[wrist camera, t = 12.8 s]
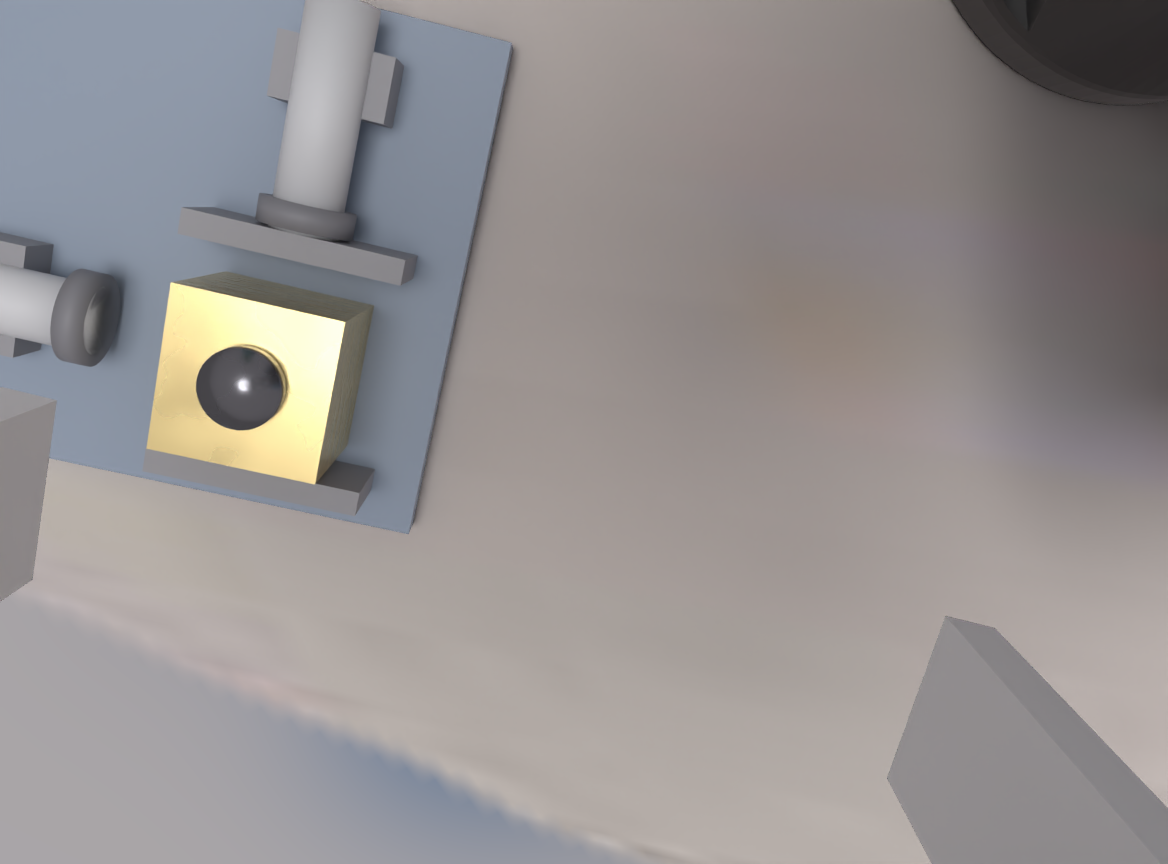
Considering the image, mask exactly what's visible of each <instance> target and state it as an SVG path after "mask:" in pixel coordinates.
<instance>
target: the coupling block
mask: <svg viewBox="0 0 1168 864" xmlns="http://www.w3.org/2000/svg"><path fill="white" fill-rule="evenodd" d="M373 309H374V305H371V304H366V303H362V302H357V301H353V300H349V299H344V298H340V297H336V296H331V295H327V294H323V293H318V292H314V291H310V290H305V289H301V288H297V287H292V286H288V285H284V284H279V283H275V282H271V281H266V280H262V279H258V278H253V277H249V276H244V275H240V274H236V273H231V272H227V271H225V272H220V273H215V274H210V275H205V276H200V277H195V278H190V279H185V280H180V281H175V282H171V285H170V292H169V298H168V305H167V312H166V319H165V326H164V332H163V339H162V346H161V353H160V360H159V366H158V373H157V380H156V387H155V394H154V400H153V407H152V414H151V421H150V428H149V435H148V441H147V448H146V449H151V450H155V451H160V452H165V453H170V454H174V455H179V456H184V457H188V458H193V459H198V460H202V461H207V462H212V463H216V464H221V465H226V466H231V467H235V468H240V469H245V470H249V471H254V472H259V473H263V474H268V475H273V476H277V477H282V478H287V479H292V480H296V481H301V482H306V483H310V484H316V483H317V481H318V480H319V479H320V478H321V477H322V475H323V474H324V473H325V472H326V471H327V469H328V468H329V467H330V466H331V465H332V463H333V462H334V461H335V460H336V459H337V457H338V456H339V455H340V454H341V453H342V451H343V450H344V449H345V448H346V447H347V445H348V440H349V435H350V430H351V424H352V419H353V414H354V409H355V403H356V398H357V393H358V388H359V383H360V377H361V372H362V367H363V362H364V356H365V351H366V346H367V341H368V335H369V330H370V325H371V320H372V315H373Z"/></svg>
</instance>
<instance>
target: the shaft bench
mask: <svg viewBox="0 0 1168 864" xmlns="http://www.w3.org/2000/svg"><path fill="white" fill-rule="evenodd" d="M512 50H513V47H512V43H511V42H507V41H503V40H499V39H495V38H491V37H487V36H483V35H480V34H476V33H472V32H468V31H464V30H460V29H456V28H452V27H448V26H445V25H441V24H437V23H433V22H429V21H425V20H421V19H417V18H414V17H410V16H406V15H402V14H398V13H394V12H390V11H386V10H382V9H379V8H376V7H374V6H372V5H370V4H367V3H365V2H362V1H359V0H0V388H1V387H4V388H8V389H12V390H16V391H21V392H25V393H29V394H33V395H37V396H41V397H45V398H49V399H54V400H57V403H56V411H55V418H54V425H53V433H52V440H51V447H50V455H49V458H51V459H56V460H61V461H65V462H70V463H75V464H79V465H84V466H89V467H94V468H98V469H103V470H108V471H113V472H117V473H122V474H127V475H131V476H136V477H141V478H146V479H150V480H155V481H160V482H165V483H169V484H174V485H179V486H183V487H188V488H193V489H198V490H202V491H207V492H212V493H217V494H221V495H226V496H231V497H235V498H240V499H245V500H250V501H254V502H259V503H264V504H269V505H273V506H278V507H283V508H287V509H292V510H297V511H302V512H306V513H311V514H316V515H320V516H325V517H330V518H335V519H339V520H344V521H349V522H354V523H358V524H363V525H368V526H372V527H377V528H382V529H387V530H391V531H396V532H401V533H406V534H409V532H410V529H411V527H412V525H413V521H414V516H415V511H416V506H417V502H418V497H419V492H420V487H421V483H422V478H423V473H424V468H425V464H426V459H427V454H428V449H429V445H430V440H431V435H432V430H433V426H434V421H435V416H436V411H437V407H438V402H439V397H440V392H441V388H442V383H443V378H444V373H445V369H446V364H447V359H448V354H449V349H450V345H451V340H452V335H453V330H454V326H455V321H456V316H457V311H458V307H459V302H460V297H461V292H462V288H463V283H464V278H465V273H466V269H467V264H468V259H469V254H470V250H471V245H472V240H473V235H474V231H475V226H476V221H477V216H478V212H479V207H480V202H481V197H482V193H483V188H484V183H485V178H486V174H487V169H488V164H489V159H490V155H491V150H492V145H493V140H494V135H495V131H496V126H497V121H498V116H499V112H500V107H501V102H502V97H503V93H504V88H505V83H506V78H507V74H508V69H509V64H510V59H511V55H512ZM225 271H227V272H231V273H236V274H240V275H244V276H249V277H253V278H258V279H262V280H266V281H271V282H275V283H279V284H284V285H288V286H292V287H297V288H301V289H305V290H310V291H314V292H318V293H323V294H327V295H331V296H336V297H340V298H344V299H349V300H353V301H357V302H362V303H366V304H371V305H374V309H373V315H372V320H371V325H370V330H369V335H368V341H367V346H366V351H365V356H364V362H363V367H362V372H361V377H360V383H359V388H358V393H357V398H356V403H355V409H354V414H353V419H352V424H351V430H350V435H349V440H348V445H347V447H346V448H345V449H344V450H343V451H342V453H341V454H340V455H339V456H338V457H337V459H336V460H335V461H334V462H333V463H332V465H331V466H330V467H329V468H328V469H327V471H326V472H325V473H324V474H323V475H322V477H321V478H320V479H319V480H318V481H317V483H316V484H310V483H306V482H301V481H296V480H292V479H287V478H282V477H277V476H273V475H268V474H263V473H259V472H254V471H249V470H245V469H240V468H235V467H231V466H226V465H221V464H216V463H212V462H207V461H202V460H198V459H193V458H188V457H184V456H179V455H174V454H170V453H165V452H160V451H155V450H151V449H146V448H147V441H148V435H149V428H150V421H151V414H152V407H153V400H154V394H155V387H156V380H157V373H158V366H159V360H160V353H161V346H162V339H163V332H164V326H165V319H166V312H167V305H168V298H169V292H170V285H171V282H175V281H180V280H185V279H190V278H195V277H200V276H205V275H210V274H215V273H220V272H225Z"/></svg>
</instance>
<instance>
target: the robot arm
mask: <svg viewBox="0 0 1168 864" xmlns="http://www.w3.org/2000/svg"><path fill="white" fill-rule="evenodd" d="M953 1H954V3H955V4H956V6H957V8H958V10H959V11H960V13H961V15H962V16H963V17H964V19H965V20H966V22H967V23H968V25H969V26H970V27H971V29H972V30H973V31H974V32H975V33H976V35H977V36H978V37H979V38H980V40H981V41H982V42H983V43H984V44H985V45H986V46H987V47H988V48H989V49H990V50H991V51H992V52H993V53H994V54H995V55H996V56H998V57H999V58H1000V59H1001V60H1002V61H1003V62H1004V63H1006V64H1007V65H1008V66H1010V67H1011V68H1012V69H1014V70H1015V71H1017V72H1018V73H1020V74H1021V75H1023V76H1024V77H1026V78H1028V79H1029V80H1031V81H1033V82H1035V83H1037V84H1039V85H1041V86H1043V87H1045V88H1047V89H1049V90H1052V91H1054V92H1057V93H1059V94H1062V95H1065V96H1069V97H1072V98H1075V99H1080V100H1084V101H1089V102H1095V103H1102V104H1114V105H1139V104H1149V103H1157V102H1163V101H1168V0H953ZM56 403H57V400H54V399H49V398H45V397H41V396H37V395H33V394H29V393H25V392H21V391H16V390H12V389H8V388H4V387H1V388H0V601H2V600H3V599H5V598H6V597H8V596H9V595H11V594H12V593H14V592H15V591H16V590H18V589H19V588H21V587H22V586H24V585H25V584H27V583H28V582H30V581H31V580H32V579H33V572H34V564H35V557H36V550H37V543H38V535H39V528H40V521H41V513H42V506H43V499H44V491H45V484H46V477H47V469H48V462H49V455H50V447H51V440H52V433H53V425H54V418H55V411H56ZM887 779H888V781H889V783H890V785H891V787H892V789H893V791H894V793H895V794H896V796H897V798H898V800H899V802H900V804H901V806H902V808H903V810H904V812H905V814H906V816H907V817H908V819H909V821H910V823H911V825H912V827H913V829H914V831H915V833H916V835H917V837H918V838H919V840H920V842H921V844H922V846H923V848H924V850H925V852H926V854H927V856H928V858H929V859H930V861H931V863H932V864H1168V808H1167V807H1166V806H1165V805H1164V804H1163V803H1162V802H1161V801H1160V800H1159V798H1158V797H1157V796H1156V795H1155V794H1154V793H1153V792H1152V791H1151V790H1150V789H1149V788H1148V787H1147V786H1146V785H1145V784H1144V783H1143V782H1142V781H1141V780H1140V779H1139V778H1138V777H1137V776H1136V775H1135V773H1134V772H1133V771H1132V770H1131V769H1130V768H1129V767H1128V766H1127V765H1126V764H1125V763H1124V762H1123V761H1122V760H1121V759H1120V758H1119V757H1118V756H1117V755H1116V754H1115V753H1114V752H1113V751H1112V749H1111V748H1110V747H1109V746H1108V745H1107V744H1106V743H1105V742H1104V741H1103V740H1102V739H1101V738H1100V737H1099V736H1098V735H1097V734H1096V733H1095V732H1094V731H1093V730H1092V729H1091V728H1090V727H1089V726H1088V724H1087V723H1086V722H1085V721H1084V720H1083V719H1082V718H1081V717H1080V716H1079V715H1078V714H1077V713H1076V712H1075V711H1074V710H1073V709H1072V708H1071V707H1070V706H1069V705H1068V704H1067V703H1066V702H1065V701H1064V699H1063V698H1062V697H1061V696H1060V695H1059V694H1058V693H1057V692H1056V691H1055V690H1054V689H1053V688H1052V687H1051V686H1050V685H1049V684H1048V683H1047V682H1046V681H1045V680H1044V679H1043V678H1042V677H1041V676H1040V674H1039V673H1038V672H1037V671H1036V670H1035V669H1034V668H1033V667H1032V666H1031V665H1030V664H1029V663H1028V662H1027V661H1026V660H1025V659H1024V658H1023V657H1022V656H1021V655H1020V654H1019V653H1018V652H1017V651H1016V649H1015V648H1014V647H1013V646H1012V645H1011V644H1010V643H1009V642H1008V641H1007V640H1006V639H1005V638H1004V637H1003V636H1002V635H1001V634H1000V633H999V632H998V631H997V630H996V629H995V628H993V627H989V626H985V625H981V624H977V623H973V622H968V621H964V620H960V619H956V618H952V617H948V616H945V619H944V622H943V625H942V627H941V630H940V633H939V636H938V638H937V641H936V644H935V647H934V649H933V652H932V655H931V658H930V661H929V663H928V666H927V669H926V672H925V674H924V677H923V680H922V683H921V685H920V688H919V691H918V694H917V696H916V699H915V702H914V705H913V707H912V710H911V713H910V716H909V719H908V721H907V724H906V727H905V730H904V732H903V735H902V738H901V741H900V743H899V746H898V749H897V752H896V754H895V757H894V760H893V763H892V765H891V768H890V771H889V774H888V776H887Z"/></svg>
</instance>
